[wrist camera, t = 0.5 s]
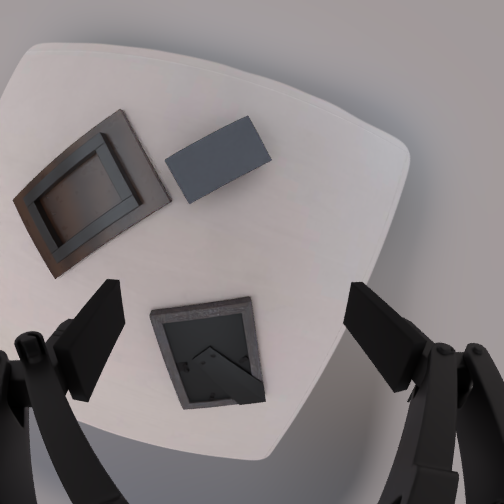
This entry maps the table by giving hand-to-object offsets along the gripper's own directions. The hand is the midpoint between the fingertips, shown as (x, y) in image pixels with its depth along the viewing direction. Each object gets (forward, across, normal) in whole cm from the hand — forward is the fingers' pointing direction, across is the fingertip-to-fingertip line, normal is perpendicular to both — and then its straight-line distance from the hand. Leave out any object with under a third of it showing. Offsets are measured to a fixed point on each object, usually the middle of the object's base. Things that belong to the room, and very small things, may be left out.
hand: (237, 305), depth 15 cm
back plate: (+20, -18, +4) cm, 27 cm away
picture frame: (+20, -2, -19) cm, 28 cm away
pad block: (+20, -1, +8) cm, 21 cm away
